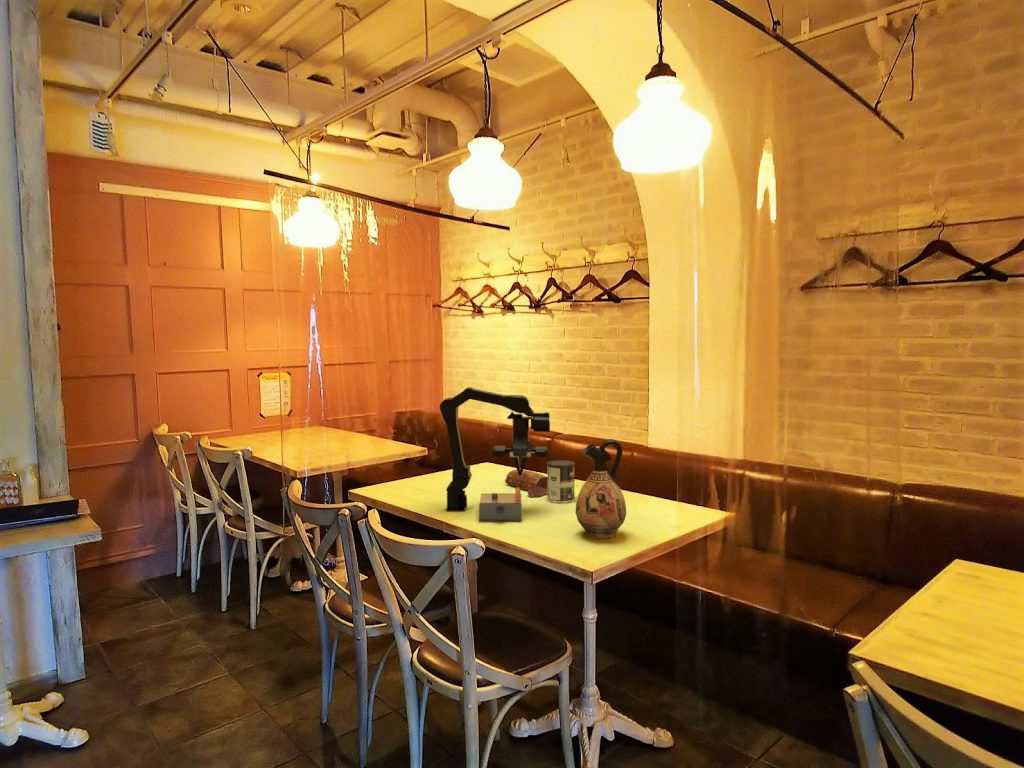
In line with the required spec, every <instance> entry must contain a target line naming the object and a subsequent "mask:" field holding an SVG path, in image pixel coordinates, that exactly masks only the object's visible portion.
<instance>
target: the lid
mask: <svg viewBox="0 0 1024 768" xmlns="http://www.w3.org/2000/svg"><path fill="white" fill-rule="evenodd" d="M514 489H515V491H514V493H515V494H501V493H498V492H497V493H496V492H492V493H481V494H480V499H479V503H478V505H479V504H489V503H522V493H521V488H518V487H515V488H514ZM520 493H521V494H520Z"/></svg>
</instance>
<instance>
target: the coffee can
mask: <svg viewBox="0 0 1024 768" xmlns="http://www.w3.org/2000/svg"><path fill="white" fill-rule="evenodd" d="M546 465H547V466H546V467H547V477H548V488H547V490H548V495H547V501H548V502H550V503H554V504H567V503H568V504H569V503H572V502H575V465H576V463H575V462H574V461H573V460H568V459H567V460H564V459H556V460H555V459H554V460H549V461H547V462H546Z"/></svg>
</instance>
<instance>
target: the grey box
mask: <svg viewBox="0 0 1024 768" xmlns="http://www.w3.org/2000/svg"><path fill="white" fill-rule="evenodd" d="M500 494H515V492H514V493H503V492H502V493H500ZM520 494H521V495H522V493H521V492H520ZM522 513H523V512H522V502H521V503H489V504H479V503H478V519H479V520H478V522H479V523H521V522H523V520H522V518H523V517H522V516H523V515H522Z"/></svg>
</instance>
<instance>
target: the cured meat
mask: <svg viewBox="0 0 1024 768" xmlns="http://www.w3.org/2000/svg"><path fill="white" fill-rule="evenodd" d="M504 483H505V484H507V485H509V486H512V487H515V488H520V490H521V489H522V490H526V491H527V497H531V498H536V497H537V498H538V497H542V496H548V476H546V475H543V474H541V473H538V472H534V471H532V470H524V469H523V471H522V474H521V476H519V475H518V471H517V468H515V469H513V470H510V471H508V472H507V474H506V478H505V479H504Z"/></svg>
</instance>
